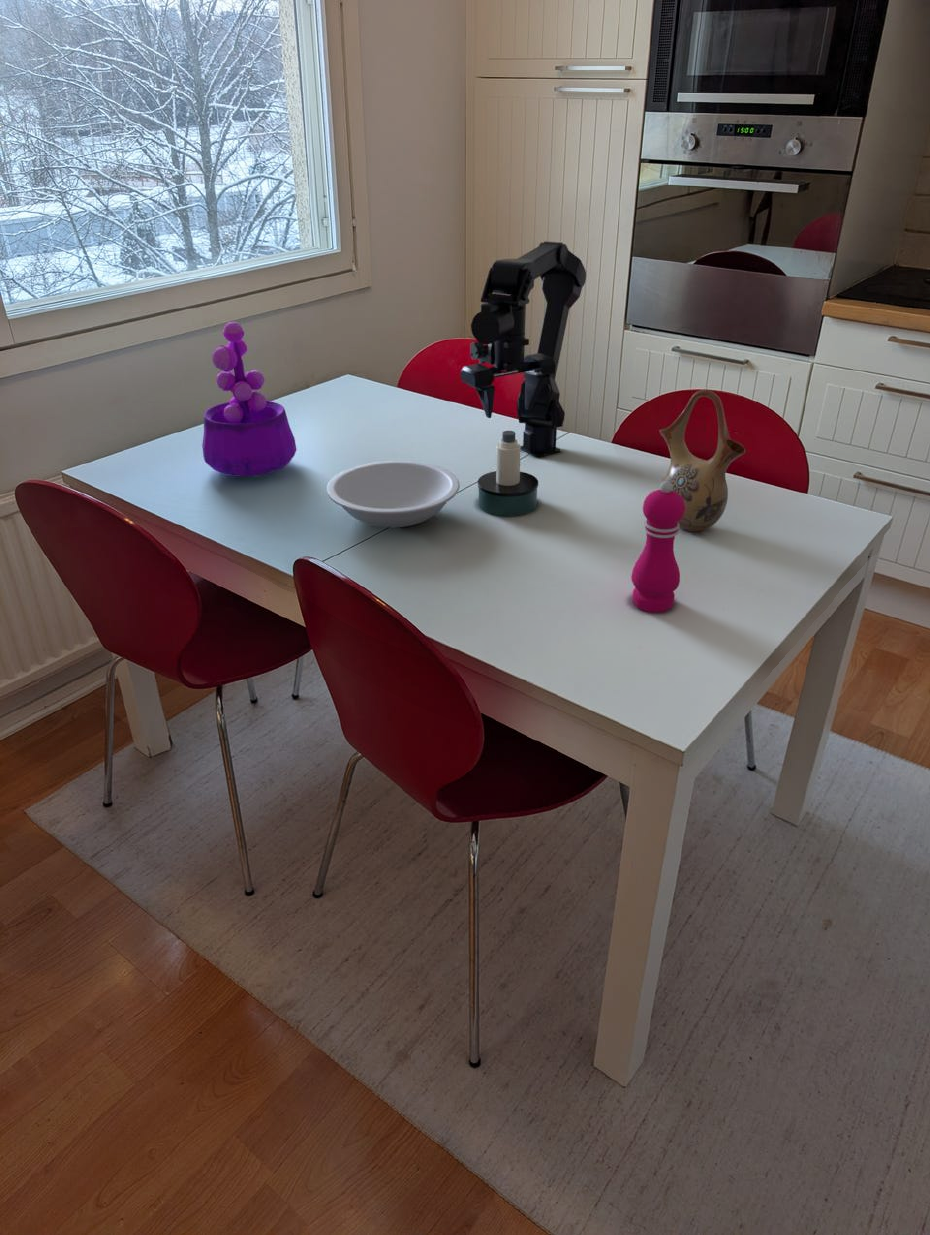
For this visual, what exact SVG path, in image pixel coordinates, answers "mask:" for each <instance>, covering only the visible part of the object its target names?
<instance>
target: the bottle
mask: <svg viewBox="0 0 930 1235" xmlns="http://www.w3.org/2000/svg"><path fill="white" fill-rule="evenodd" d="M521 446H522V445H521V444H519V443H518V439H516V432H515V431H513V430H504V431H502V433H501V439H499V443H497V444H496V457H495V458H496V460H495V461H496V463H495V465H496V466H495V467H496V470H495V471H496V482H497V483H498V484H500V485H504V486H513V485H516V484H518V483H519V482H520V472H521V450H522V449H521Z"/></svg>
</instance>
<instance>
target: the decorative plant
mask: <svg viewBox="0 0 930 1235" xmlns="http://www.w3.org/2000/svg"><path fill="white" fill-rule="evenodd" d="M222 335H223V337H224V339H226V341H228V344H227V345H224V344H223V345H222V344H221V345H219V347H217V348H216V349H214V351H213V352H212V355H211V358H212V360H211V361H212V363H213V366H215V368H216V369H218V370H220V372H219V373H218V374H217V375H216V380H215V382H216V385H217V386H218V388H219V389H220V390H222V391H223V392H224V391H225V392H229V391H230V393H232V395H233V397H232V398H231V399H230V400H229V401H227V402H223V403H222V402H221V403H219V404H217V405H214V406H211V407H210V408H209V409H207V410H206V411H205V412H204V415H203V437H202V443H201V446H202V456H203V460H204V462H205V463H206V465H208V466H209V467H210V468H211V469H213V470H214V471H216V472H218V473H219V474H224V475H227V476H234V477H258V476H263V475H267V474H270V473H273V472H276V471H279V470H280V469H283V468H284V467H286V466H287V465H289V464H290V462H291V461H292V460H293V458H295V456H296V452H297V450H298V449H297V445H296V438H295V435H294V433H293V431H292V428H291V427H290V423H289V419H288V416H287V413H286V409H285V407H284V406H283V405H282V404H281V403H278V402H275V401H271V400H267V398H266V396H265V395H264V394H263V393H261V392H258V390H260V389H262V387H263V386H264V384H265V382H266V381H265V376H264V375H263V373H262V372H261V371H259V370H258V369H257V370H256V369H253V370H248V371H247V372H246V373H245V367H244V366H245V365H244V361H243V356H244V355H246V353H247V352H248V345H247V343H246V342H245V341H244V340H243V338H244V337H245V330H244V328H243V327H242V326H241V324H240V323H238V322H237V321H229V322H227V323H226V324H225V325H224V328H223V331H222ZM232 371H233V372H232Z"/></svg>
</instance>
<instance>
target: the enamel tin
mask: <svg viewBox="0 0 930 1235" xmlns="http://www.w3.org/2000/svg"><path fill="white" fill-rule="evenodd" d="M477 487H478V506H479V508H480V509H481V511H483V512H485V513H487V514H490V515H494V516H499V517H500V516H501V517H517V516H522V515H526V514H529V513H531V512H533V511H534V510H536V507H537V500H538V487H539V479H538V478H537V477H536V476H535V475H533V474H531V473H528V472H524V471H520V482H519V483H518V484H516V485H513V486H504V485H500V484H498V483H497V482H496V470H495V471H490V472H487V473H484V474H483V475H481V476H480V477H479V478H478V480H477Z"/></svg>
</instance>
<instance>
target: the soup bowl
mask: <svg viewBox="0 0 930 1235" xmlns="http://www.w3.org/2000/svg"><path fill="white" fill-rule="evenodd" d="M460 486H461V483H460V480H459V478H458V477H457V475H455V473H453V472H452V471H450V470H449V469H447V468H444V467H442V466H439V465H436V464H432V463H428V462H421V461H413V460H383V461H382V460H381V461H375V462H368V463H364V464H359V465H357V466H353V467H349V468H347V469H345V470H343V471H341V472H339V473H338V474H336V475H334V476H333V477H332V478H331V479H330V480H329V482H328V483H327V486H326V494H327V496H328V497H329V499H330V500H331V501H332V502H333V503H335V504H336V505H338V506H340V507H341V508H342V509H343V510H344V511H345V512H346V513H347V514H349V515H350V517H353V518H354V519H355V520H356V521H357V520H358V521H359V522H361V523H364V524H367V525H370V526H374V527H381V528H404V527H409V526H415V525H417V524H420V523H423V522H425V521H427V520H429V519H431V518H433V517H434V516H435V515H436V514H438V513H439V512H440V511H441V510H443V508H444V506H445V505H446V504H447V503H448V502H449V501H450V500H452V499H453V498H454V497H456V495H457V494H458V492H459V490H460Z"/></svg>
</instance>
